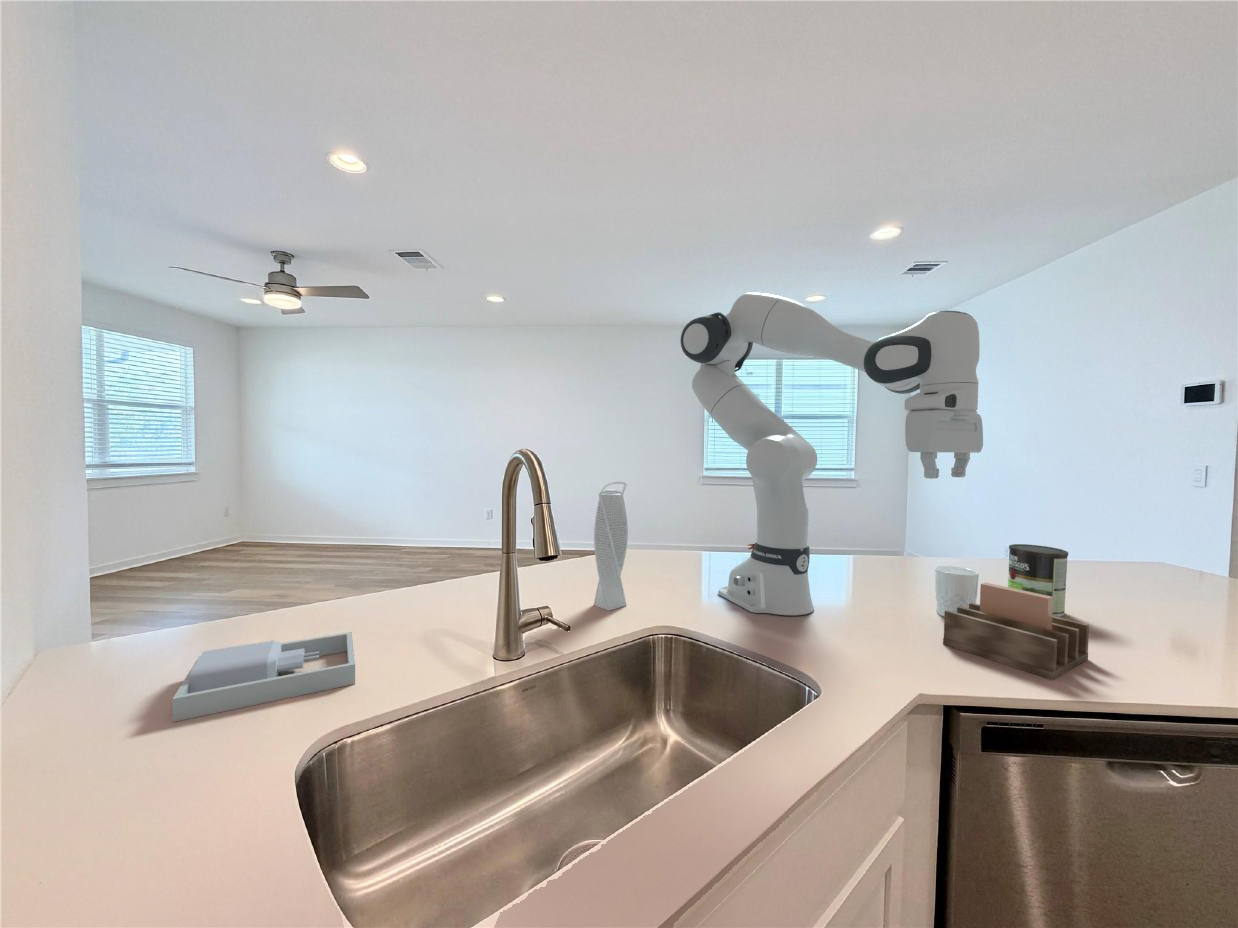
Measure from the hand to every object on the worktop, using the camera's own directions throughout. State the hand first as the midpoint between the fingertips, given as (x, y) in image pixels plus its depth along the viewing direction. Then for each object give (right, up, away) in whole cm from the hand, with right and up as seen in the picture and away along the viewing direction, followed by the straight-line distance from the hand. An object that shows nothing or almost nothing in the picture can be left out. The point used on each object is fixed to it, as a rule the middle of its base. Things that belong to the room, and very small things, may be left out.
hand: (945, 477), depth 89 cm
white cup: (+14, -31, +18) cm, 38 cm away
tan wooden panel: (+11, -30, -1) cm, 32 cm away
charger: (-114, -31, -15) cm, 119 cm away
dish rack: (+11, -31, -1) cm, 33 cm away
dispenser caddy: (-112, -30, -15) cm, 117 cm away
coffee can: (+36, -31, +22) cm, 52 cm away
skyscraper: (-61, -30, +22) cm, 72 cm away
